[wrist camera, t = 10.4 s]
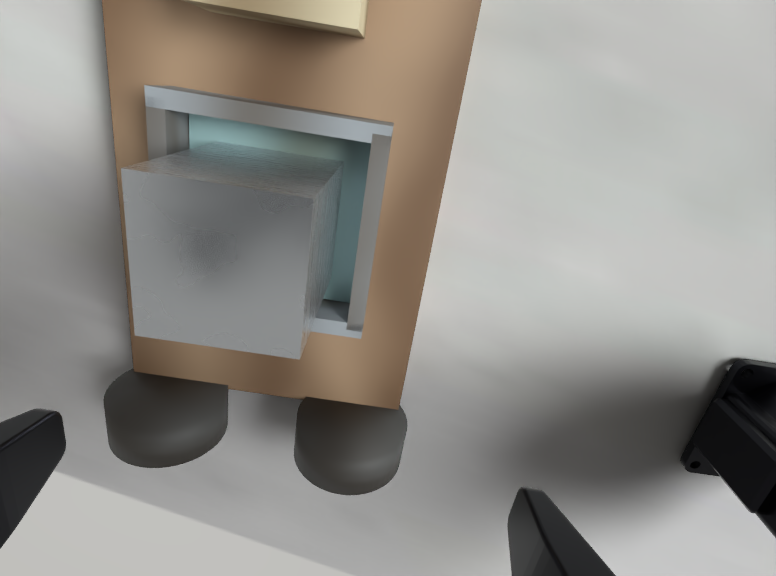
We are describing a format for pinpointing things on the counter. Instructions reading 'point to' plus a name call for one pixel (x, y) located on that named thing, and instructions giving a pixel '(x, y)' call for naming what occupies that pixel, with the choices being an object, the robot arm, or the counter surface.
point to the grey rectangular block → (231, 246)
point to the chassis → (355, 217)
